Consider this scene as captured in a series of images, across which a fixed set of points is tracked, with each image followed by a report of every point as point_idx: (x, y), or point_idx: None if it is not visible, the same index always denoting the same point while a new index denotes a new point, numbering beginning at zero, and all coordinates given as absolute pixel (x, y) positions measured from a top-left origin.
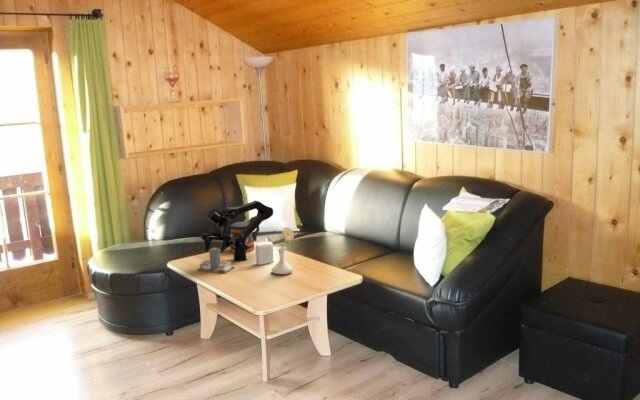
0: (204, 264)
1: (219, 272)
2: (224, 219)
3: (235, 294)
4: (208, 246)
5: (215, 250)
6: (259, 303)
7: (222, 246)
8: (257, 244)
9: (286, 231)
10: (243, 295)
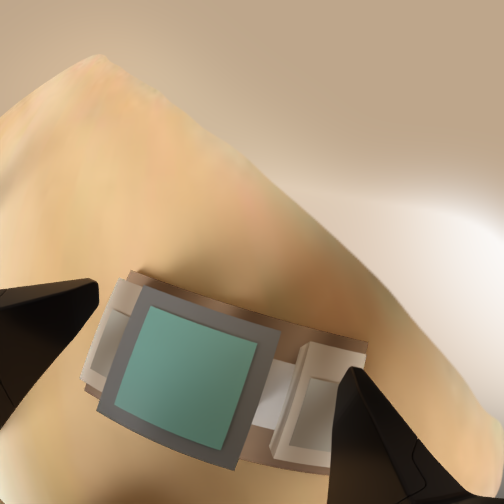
0: (317, 343)
1: (176, 288)
2: None
3: (122, 82)
4: (341, 490)
5: (152, 290)
6: (85, 67)
7: (14, 296)
8: None
9: None
10: (104, 83)
